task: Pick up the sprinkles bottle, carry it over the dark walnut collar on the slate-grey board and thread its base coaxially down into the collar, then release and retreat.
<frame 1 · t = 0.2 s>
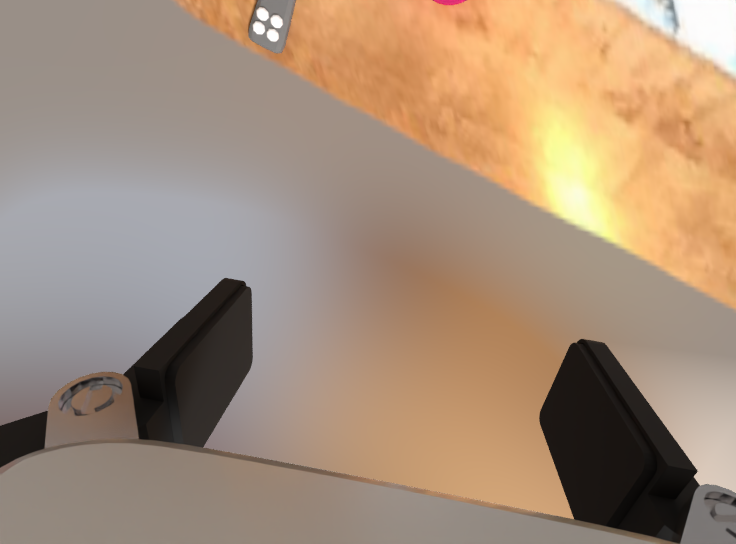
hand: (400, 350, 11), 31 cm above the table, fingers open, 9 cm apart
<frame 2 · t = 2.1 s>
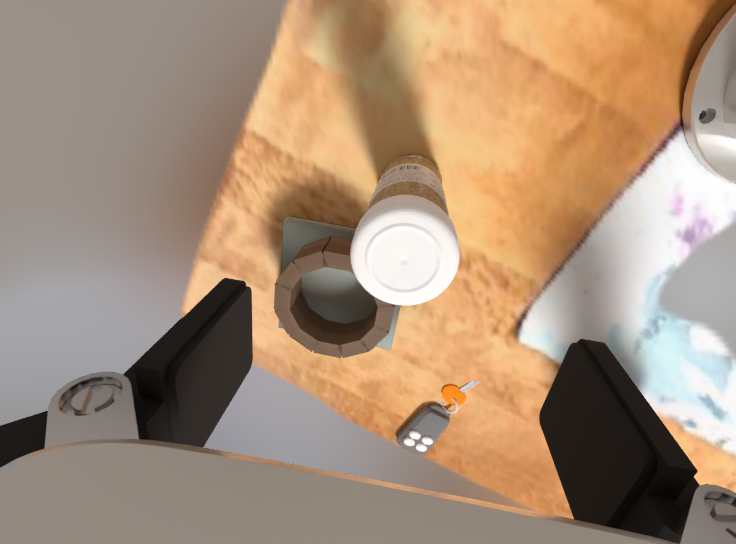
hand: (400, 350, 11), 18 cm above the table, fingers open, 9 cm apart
key chain: (443, 400, 37), on the table
sprinkles bottle: (411, 184, 28), on the table
collar: (342, 283, 32), on the table
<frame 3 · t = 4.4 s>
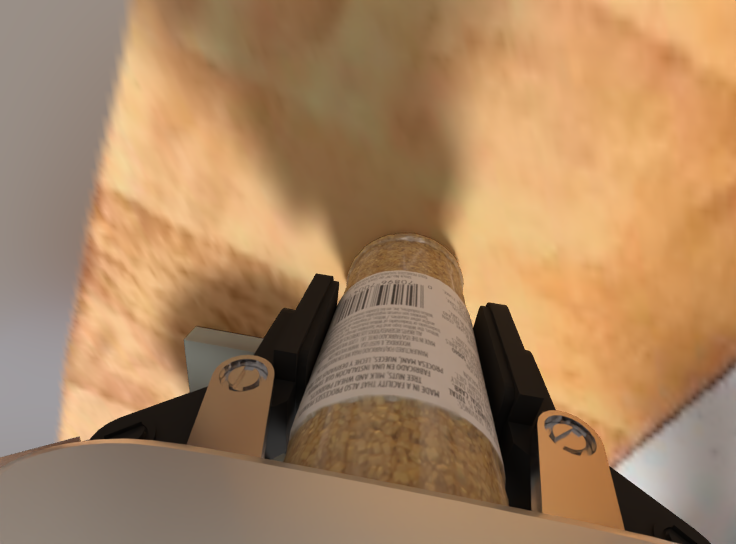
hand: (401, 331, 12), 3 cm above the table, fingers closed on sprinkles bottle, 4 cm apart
sprinkles bottle: (406, 280, 15), on the table, touching gripper
collar: (298, 424, 19), on the table
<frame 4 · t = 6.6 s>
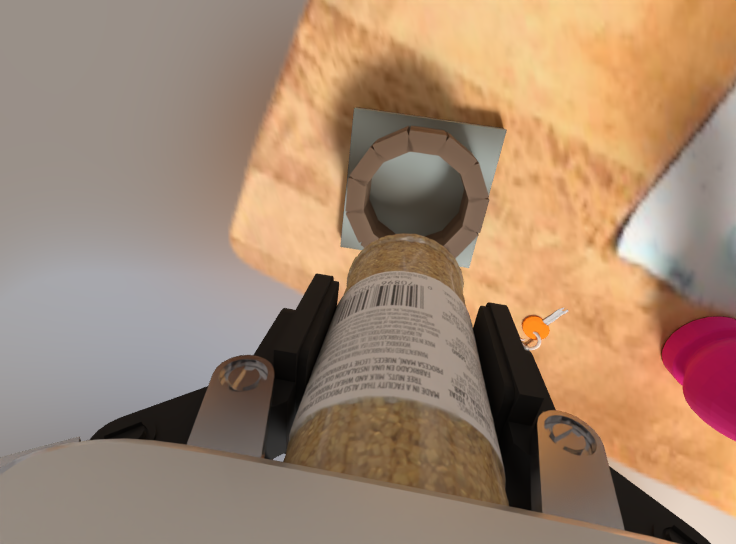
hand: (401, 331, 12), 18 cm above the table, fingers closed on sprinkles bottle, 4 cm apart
pepper mill: (703, 346, 31), on the table
key chain: (520, 337, 33), on the table
sprinkles bottle: (406, 280, 15), point 14 cm above the table, touching gripper
collar: (415, 190, 28), on the table
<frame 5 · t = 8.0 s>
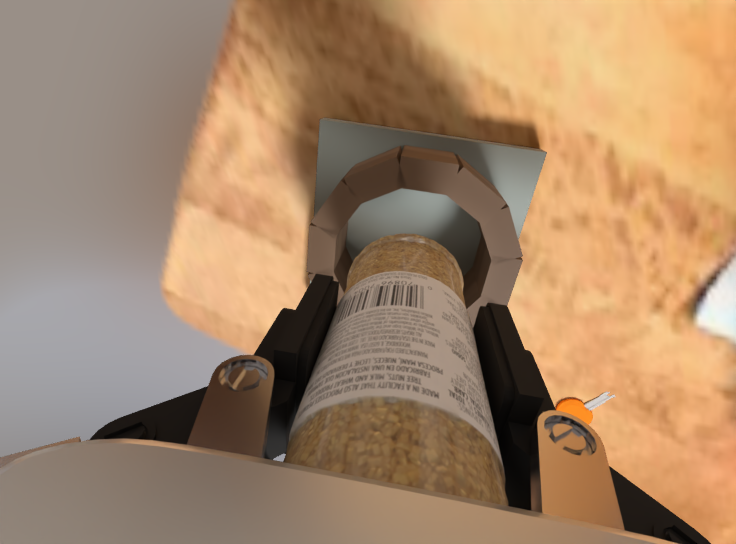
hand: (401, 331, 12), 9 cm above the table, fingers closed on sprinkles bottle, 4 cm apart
key chain: (552, 421, 25), on the table
sprinkles bottle: (406, 280, 15), point 5 cm above the table, touching gripper
collar: (411, 233, 20), on the table
when the fingers open (6 cm above the table, at t = 8.9 s): sprinkles bottle drops 1 cm, resting on collar.
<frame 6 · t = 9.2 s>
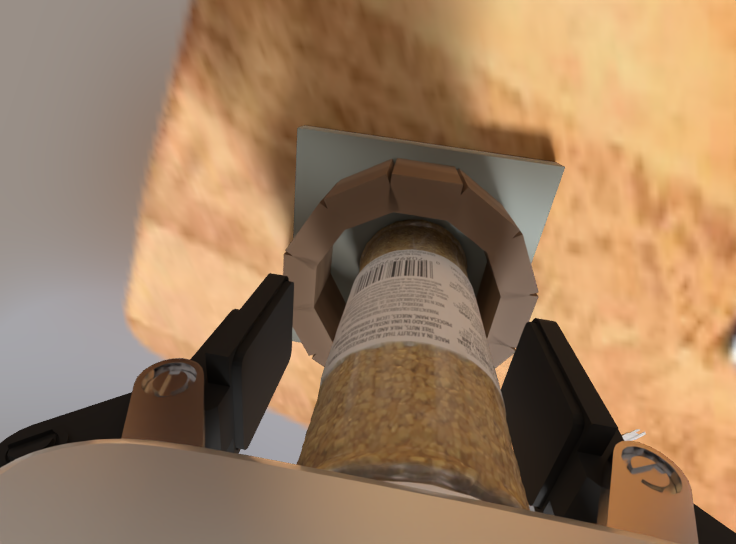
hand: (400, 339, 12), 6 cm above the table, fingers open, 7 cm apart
sprinkles bottle: (413, 264, 16), point 1 cm above the table, touching collar
collar: (406, 257, 17), on the table
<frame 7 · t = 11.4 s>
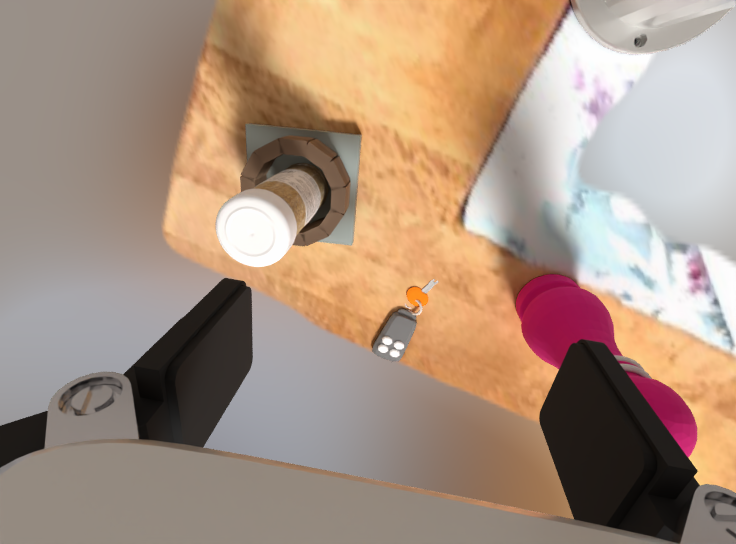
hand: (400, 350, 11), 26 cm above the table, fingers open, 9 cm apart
pepper mill: (546, 300, 38), on the table
key chain: (409, 306, 41), on the table
sprinkles bottle: (305, 186, 35), point 1 cm above the table, touching collar
collar: (304, 185, 35), on the table
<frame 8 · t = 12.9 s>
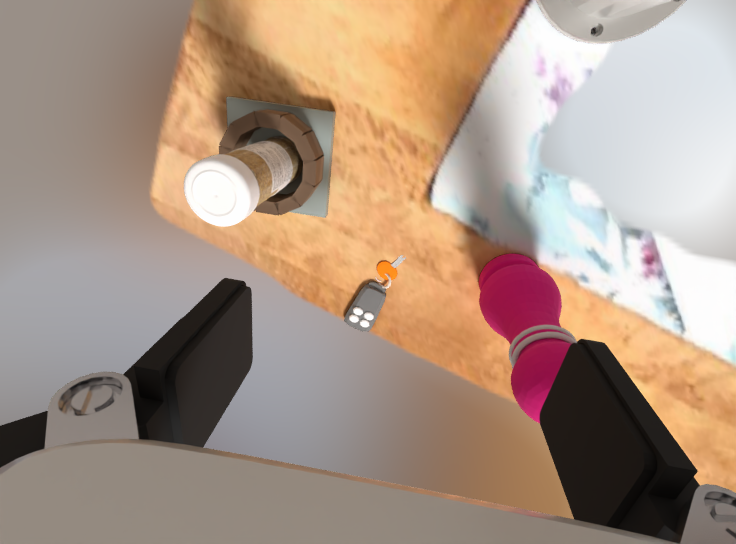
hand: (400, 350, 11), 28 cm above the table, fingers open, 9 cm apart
pepper mill: (508, 279, 40), on the table
key chain: (380, 280, 43), on the table
sprinkles bottle: (282, 159, 37), point 1 cm above the table, touching collar
collar: (281, 158, 38), on the table
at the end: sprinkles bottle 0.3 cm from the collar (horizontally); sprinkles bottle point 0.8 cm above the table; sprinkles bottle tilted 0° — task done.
